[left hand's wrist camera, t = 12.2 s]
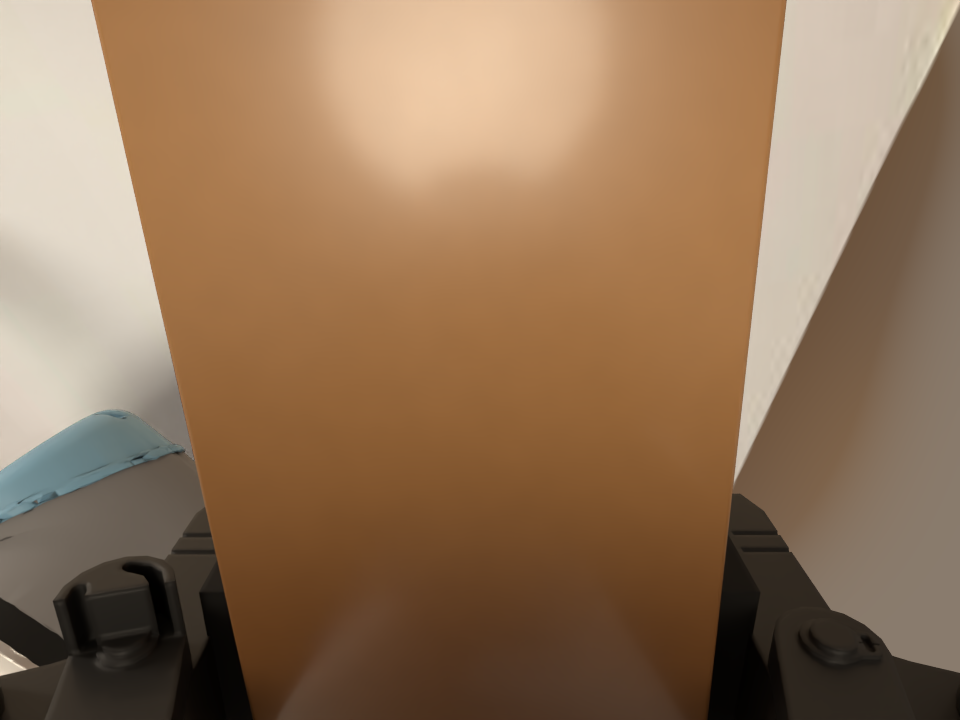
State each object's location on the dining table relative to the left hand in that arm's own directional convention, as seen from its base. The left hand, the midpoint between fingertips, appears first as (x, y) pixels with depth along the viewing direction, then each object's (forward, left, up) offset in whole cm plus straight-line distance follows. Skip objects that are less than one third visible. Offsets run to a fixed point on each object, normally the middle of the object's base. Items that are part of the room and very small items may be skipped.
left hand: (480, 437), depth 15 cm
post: (+28, +6, -1) cm, 29 cm away
